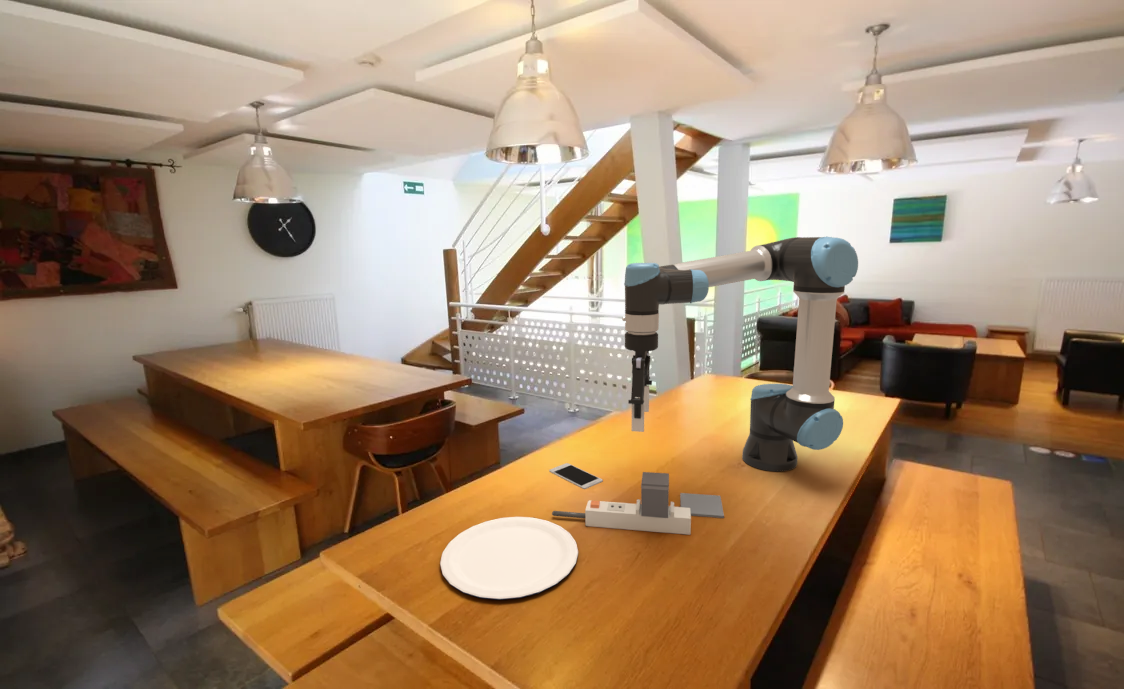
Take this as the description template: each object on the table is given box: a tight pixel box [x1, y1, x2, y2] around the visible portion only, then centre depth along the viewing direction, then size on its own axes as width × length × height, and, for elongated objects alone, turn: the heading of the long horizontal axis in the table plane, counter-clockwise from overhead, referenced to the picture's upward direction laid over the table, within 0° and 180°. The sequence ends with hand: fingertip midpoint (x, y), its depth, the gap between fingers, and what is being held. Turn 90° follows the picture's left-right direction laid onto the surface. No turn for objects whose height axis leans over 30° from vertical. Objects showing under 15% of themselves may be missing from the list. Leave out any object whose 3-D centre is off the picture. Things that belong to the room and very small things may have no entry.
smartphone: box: [548, 462, 604, 490], centre depth 150 cm, size 7×16×1 cm, turn 40°
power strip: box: [551, 498, 692, 536], centre depth 124 cm, size 33×5×5 cm, turn 78°
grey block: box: [640, 471, 670, 518], centre depth 121 cm, size 6×6×8 cm
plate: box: [439, 516, 579, 601], centre depth 113 cm, size 29×29×2 cm
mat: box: [679, 492, 725, 519], centre depth 131 cm, size 10×10×1 cm
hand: (640, 420), depth 124 cm, fingers open, 13 cm apart
